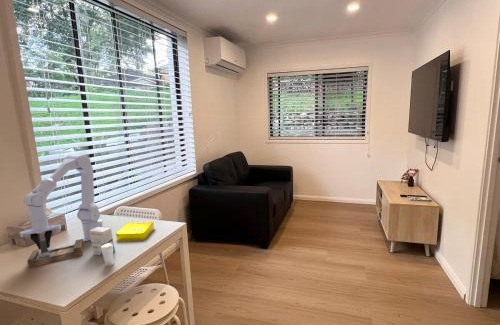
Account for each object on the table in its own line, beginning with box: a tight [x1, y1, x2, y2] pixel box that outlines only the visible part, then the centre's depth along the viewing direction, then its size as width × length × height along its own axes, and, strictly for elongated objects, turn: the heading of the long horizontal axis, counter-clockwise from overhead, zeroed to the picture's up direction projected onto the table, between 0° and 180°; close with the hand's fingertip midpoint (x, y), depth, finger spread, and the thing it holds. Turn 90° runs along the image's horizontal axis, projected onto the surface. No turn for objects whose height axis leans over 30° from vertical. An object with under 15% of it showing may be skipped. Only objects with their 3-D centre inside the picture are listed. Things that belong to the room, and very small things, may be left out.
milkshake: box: [98, 243, 115, 267], centre depth 119 cm, size 4×5×10 cm
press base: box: [27, 238, 85, 268], centre depth 129 cm, size 20×10×4 cm, turn 116°
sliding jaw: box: [38, 238, 53, 259], centre depth 127 cm, size 4×6×7 cm, turn 26°
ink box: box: [89, 226, 116, 256], centre depth 129 cm, size 9×5×12 cm, turn 71°
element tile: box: [115, 221, 155, 242], centre depth 149 cm, size 15×15×5 cm
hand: (44, 247), depth 127 cm, fingers closed on sliding jaw, 2 cm apart
